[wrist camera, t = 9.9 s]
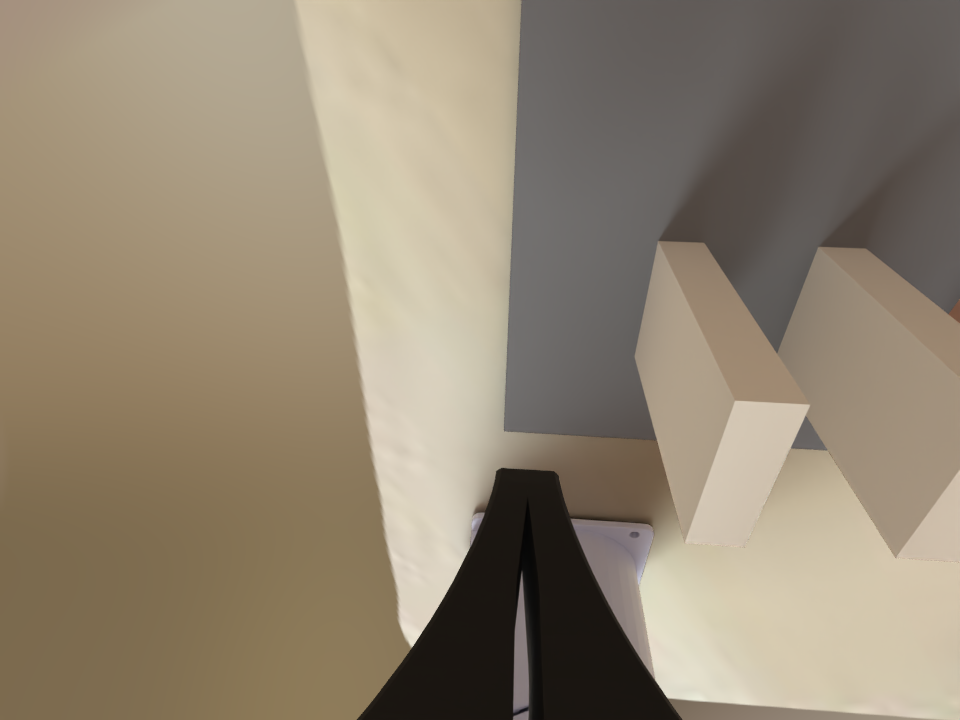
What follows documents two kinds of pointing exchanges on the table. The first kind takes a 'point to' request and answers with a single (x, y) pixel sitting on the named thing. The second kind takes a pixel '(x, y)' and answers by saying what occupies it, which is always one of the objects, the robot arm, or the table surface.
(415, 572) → the table surface
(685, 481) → the domino
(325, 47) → the table surface
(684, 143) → the slate mat
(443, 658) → the robot arm
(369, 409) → the table surface
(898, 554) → the domino
